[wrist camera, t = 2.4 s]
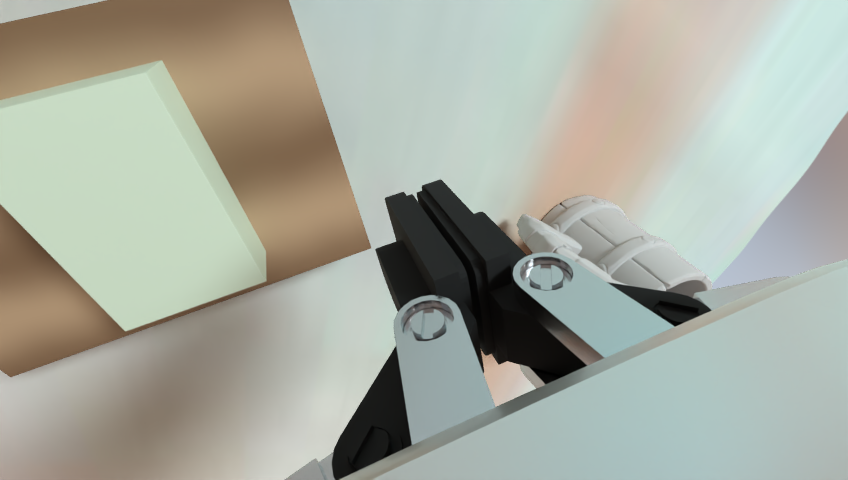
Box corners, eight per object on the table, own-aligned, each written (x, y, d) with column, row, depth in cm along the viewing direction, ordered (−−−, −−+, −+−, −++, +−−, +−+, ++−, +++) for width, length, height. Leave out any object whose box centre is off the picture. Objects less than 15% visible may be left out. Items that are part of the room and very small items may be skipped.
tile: (-25, 106, 13) (-75, 127, 11) (161, 60, 14) (145, 72, 12) (139, 294, 18) (125, 331, 16) (265, 251, 19) (266, 281, 17)
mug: (571, 280, 35) (687, 390, 25) (470, 249, 29) (572, 379, 19) (625, 207, 32) (778, 301, 23) (526, 157, 26) (678, 255, 17)
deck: (-242, 80, 13) (-372, 105, 11) (273, -33, 16) (276, -37, 14) (43, 325, 21) (10, 377, 18) (358, 218, 24) (371, 247, 21)
